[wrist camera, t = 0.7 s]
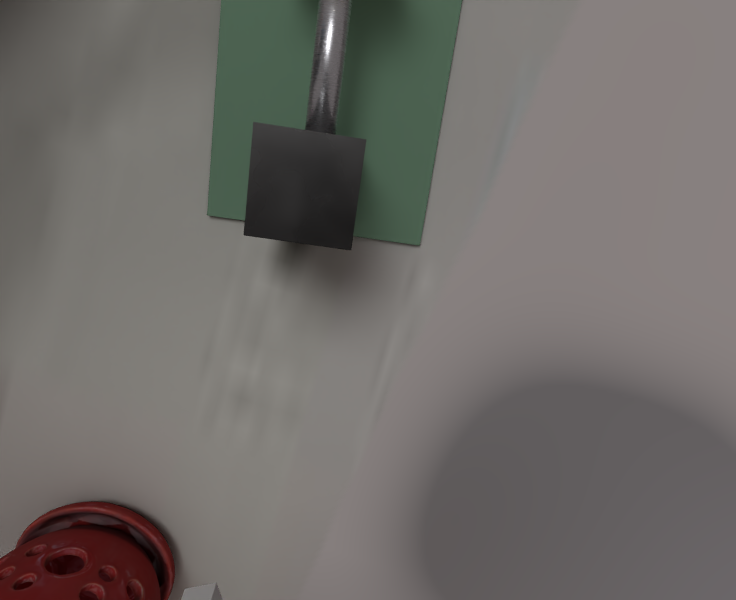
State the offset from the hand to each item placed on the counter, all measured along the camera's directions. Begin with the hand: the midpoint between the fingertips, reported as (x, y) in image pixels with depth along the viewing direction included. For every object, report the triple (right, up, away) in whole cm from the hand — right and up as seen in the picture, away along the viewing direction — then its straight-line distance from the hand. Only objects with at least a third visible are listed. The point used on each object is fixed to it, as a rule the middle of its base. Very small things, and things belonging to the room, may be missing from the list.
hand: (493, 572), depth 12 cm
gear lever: (-5, +19, +18) cm, 27 cm away
